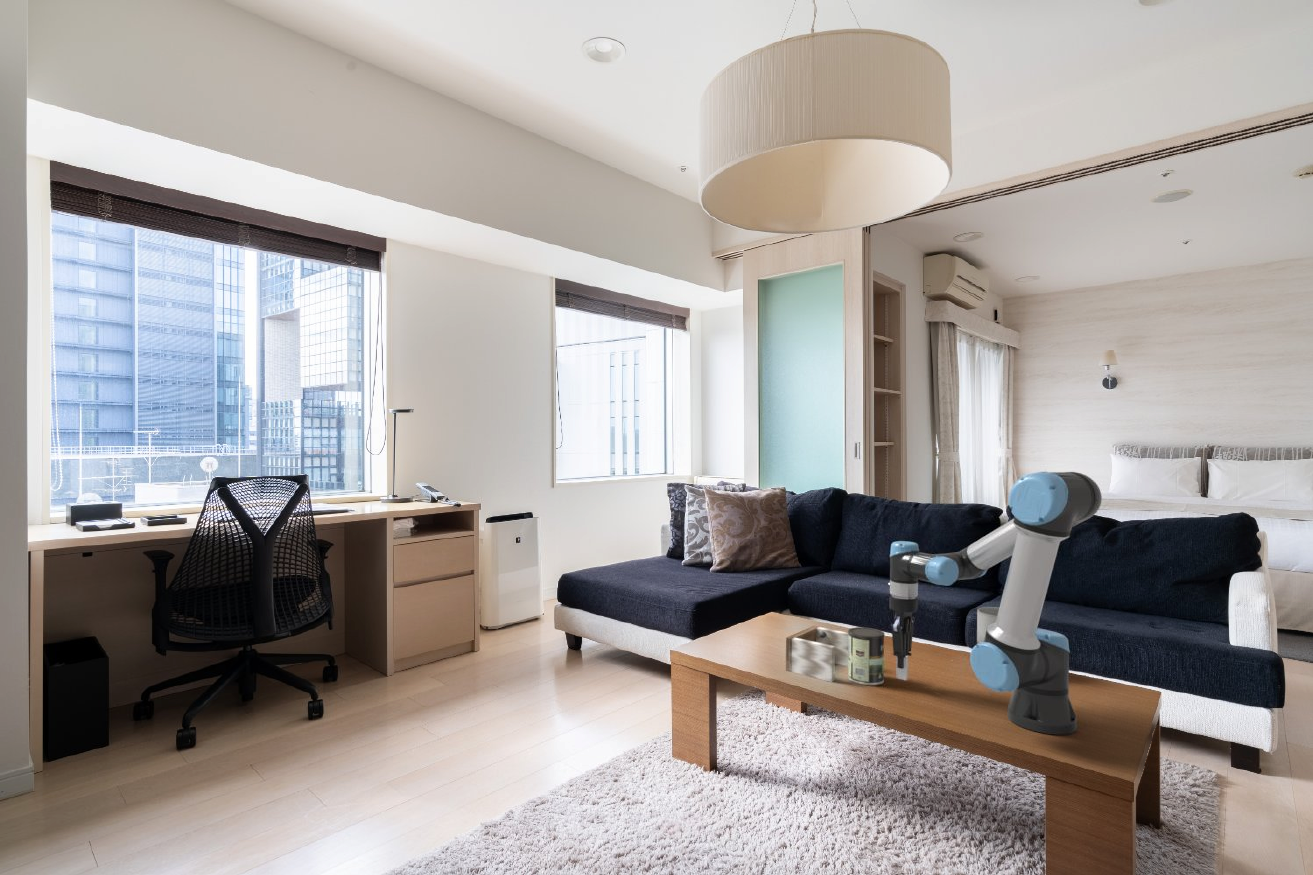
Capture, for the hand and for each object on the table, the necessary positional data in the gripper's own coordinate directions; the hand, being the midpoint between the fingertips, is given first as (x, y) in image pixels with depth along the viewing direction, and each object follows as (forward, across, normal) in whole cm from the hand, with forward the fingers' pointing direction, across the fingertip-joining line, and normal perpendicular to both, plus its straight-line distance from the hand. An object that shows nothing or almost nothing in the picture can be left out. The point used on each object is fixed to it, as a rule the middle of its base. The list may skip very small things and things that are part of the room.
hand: (901, 678), depth 192 cm
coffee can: (+3, 0, -11) cm, 11 cm away
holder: (+3, 0, -24) cm, 24 cm away
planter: (+3, -37, +17) cm, 41 cm away
